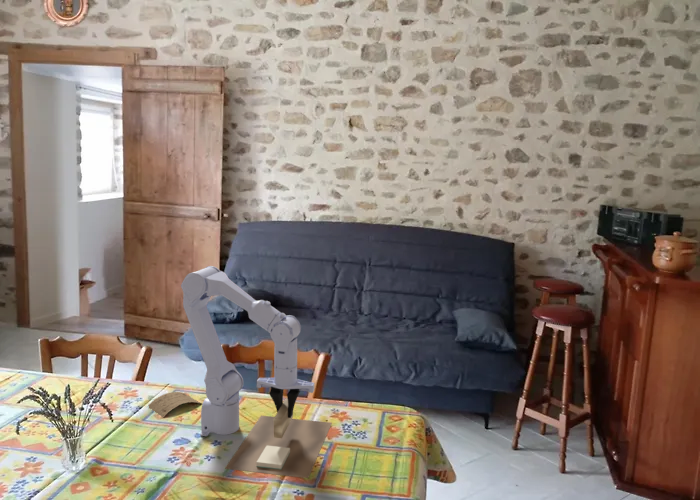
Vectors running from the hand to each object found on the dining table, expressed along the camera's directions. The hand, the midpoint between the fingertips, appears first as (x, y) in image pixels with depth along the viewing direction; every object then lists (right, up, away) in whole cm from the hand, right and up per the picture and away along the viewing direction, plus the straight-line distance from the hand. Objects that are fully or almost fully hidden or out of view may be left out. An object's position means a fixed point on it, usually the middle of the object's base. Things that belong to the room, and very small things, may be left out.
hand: (285, 415), depth 156 cm
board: (-1, -8, -1) cm, 8 cm away
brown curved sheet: (-34, -4, +21) cm, 41 cm away
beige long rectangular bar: (0, -3, -1) cm, 3 cm away
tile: (-1, -7, -5) cm, 9 cm away
